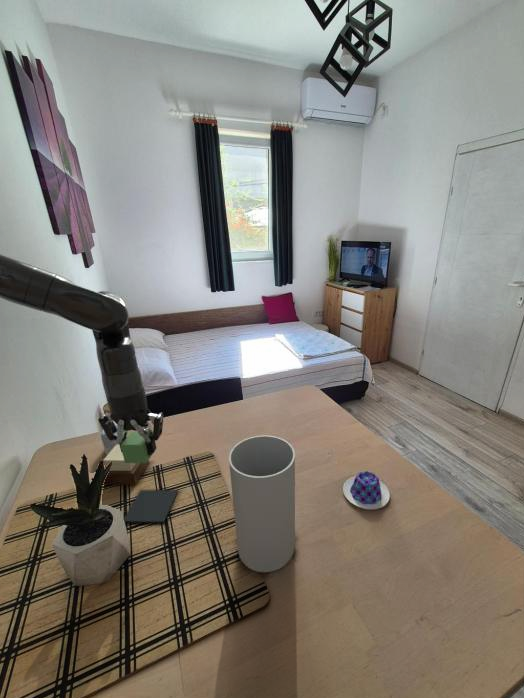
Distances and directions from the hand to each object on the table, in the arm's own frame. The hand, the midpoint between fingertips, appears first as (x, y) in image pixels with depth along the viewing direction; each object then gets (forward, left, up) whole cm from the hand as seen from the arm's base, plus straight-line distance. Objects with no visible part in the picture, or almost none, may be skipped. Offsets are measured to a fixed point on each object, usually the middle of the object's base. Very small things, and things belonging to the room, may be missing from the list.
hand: (139, 452), depth 76 cm
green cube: (0, 0, -1) cm, 1 cm away
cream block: (-12, +12, -13) cm, 21 cm away
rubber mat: (0, 0, -17) cm, 17 cm away
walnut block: (-12, +12, -17) cm, 24 cm away
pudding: (+55, +5, -17) cm, 58 cm away
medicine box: (-21, +23, -17) cm, 35 cm away
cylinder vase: (+30, -11, -17) cm, 36 cm away
